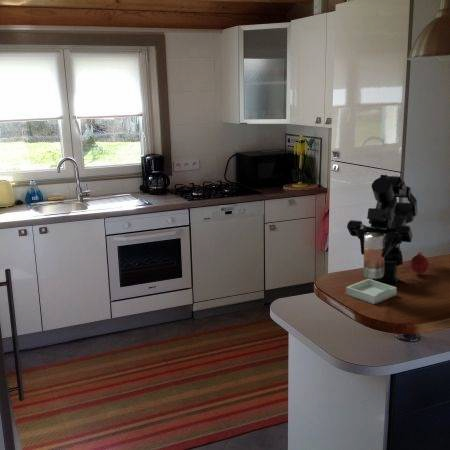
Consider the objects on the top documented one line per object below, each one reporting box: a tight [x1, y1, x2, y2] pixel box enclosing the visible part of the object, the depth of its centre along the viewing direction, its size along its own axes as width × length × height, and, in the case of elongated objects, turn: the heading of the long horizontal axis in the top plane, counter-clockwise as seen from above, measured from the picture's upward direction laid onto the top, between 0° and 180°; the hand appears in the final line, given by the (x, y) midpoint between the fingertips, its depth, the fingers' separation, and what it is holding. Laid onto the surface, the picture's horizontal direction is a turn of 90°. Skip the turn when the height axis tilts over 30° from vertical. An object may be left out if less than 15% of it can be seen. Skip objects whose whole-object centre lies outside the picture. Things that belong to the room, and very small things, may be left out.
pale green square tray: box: [345, 278, 398, 305], centre depth 167 cm, size 11×11×2 cm
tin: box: [363, 232, 385, 279], centre depth 163 cm, size 6×6×12 cm
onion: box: [409, 251, 430, 276], centre depth 181 cm, size 6×6×8 cm
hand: (372, 255), depth 162 cm, fingers closed on tin, 6 cm apart
